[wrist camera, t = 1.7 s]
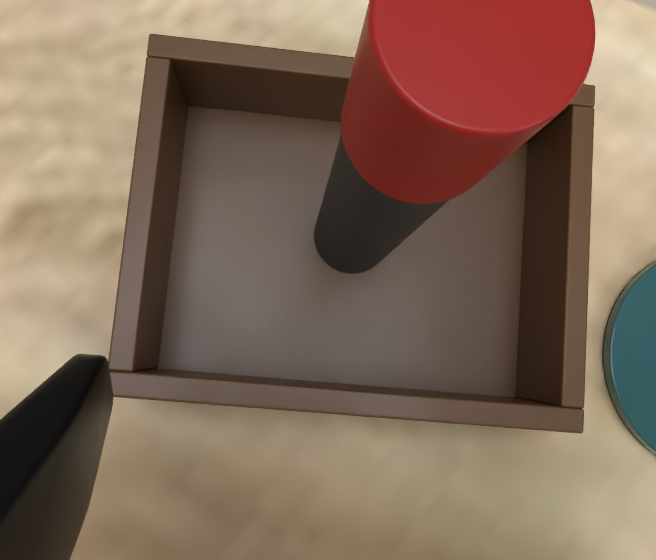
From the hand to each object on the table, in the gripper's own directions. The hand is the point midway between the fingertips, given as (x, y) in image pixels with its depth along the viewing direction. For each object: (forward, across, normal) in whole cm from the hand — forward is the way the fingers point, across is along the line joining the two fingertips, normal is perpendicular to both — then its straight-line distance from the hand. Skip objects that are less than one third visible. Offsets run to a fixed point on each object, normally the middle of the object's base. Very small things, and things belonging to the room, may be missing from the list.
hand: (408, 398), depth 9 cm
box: (+11, 0, +6) cm, 13 cm away
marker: (+11, 0, +5) cm, 12 cm away
